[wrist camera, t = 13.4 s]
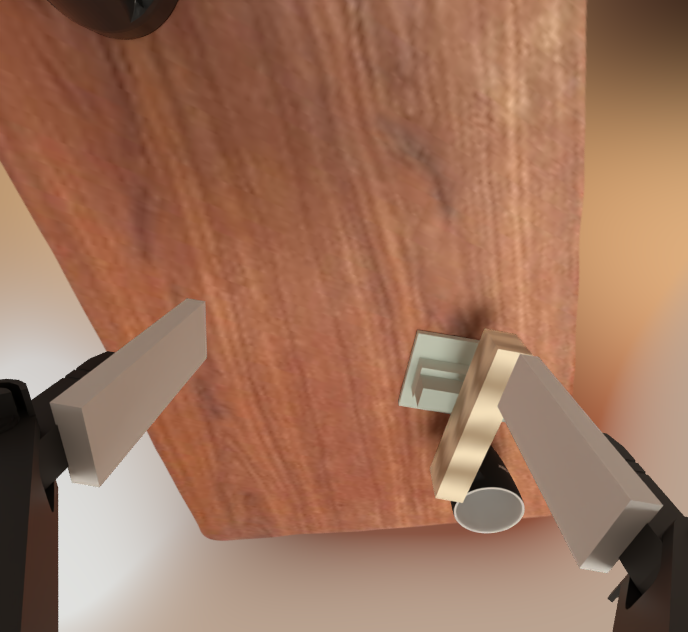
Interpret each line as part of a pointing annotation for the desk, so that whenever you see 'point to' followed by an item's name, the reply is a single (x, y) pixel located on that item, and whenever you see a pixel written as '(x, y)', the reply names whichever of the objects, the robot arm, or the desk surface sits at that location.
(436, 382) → the ridge
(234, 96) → the desk surface
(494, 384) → the birch bar
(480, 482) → the mug
